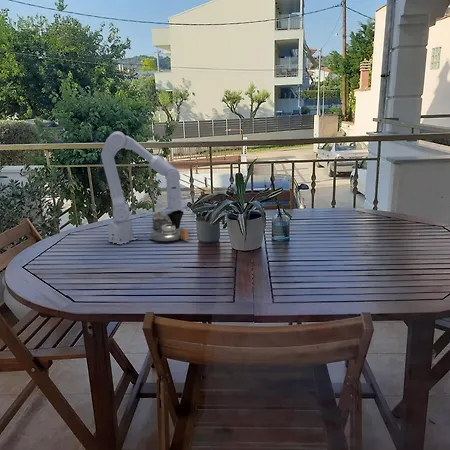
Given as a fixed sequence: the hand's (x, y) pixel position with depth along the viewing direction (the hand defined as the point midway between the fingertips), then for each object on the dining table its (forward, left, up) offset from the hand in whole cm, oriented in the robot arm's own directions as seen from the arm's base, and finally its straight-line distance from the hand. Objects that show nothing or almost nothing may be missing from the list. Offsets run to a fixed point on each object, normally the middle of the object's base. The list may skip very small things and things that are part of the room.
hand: (176, 228), depth 170 cm
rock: (+8, +15, -3) cm, 17 cm away
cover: (-5, 0, -1) cm, 5 cm away
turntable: (-5, -1, -2) cm, 5 cm away
